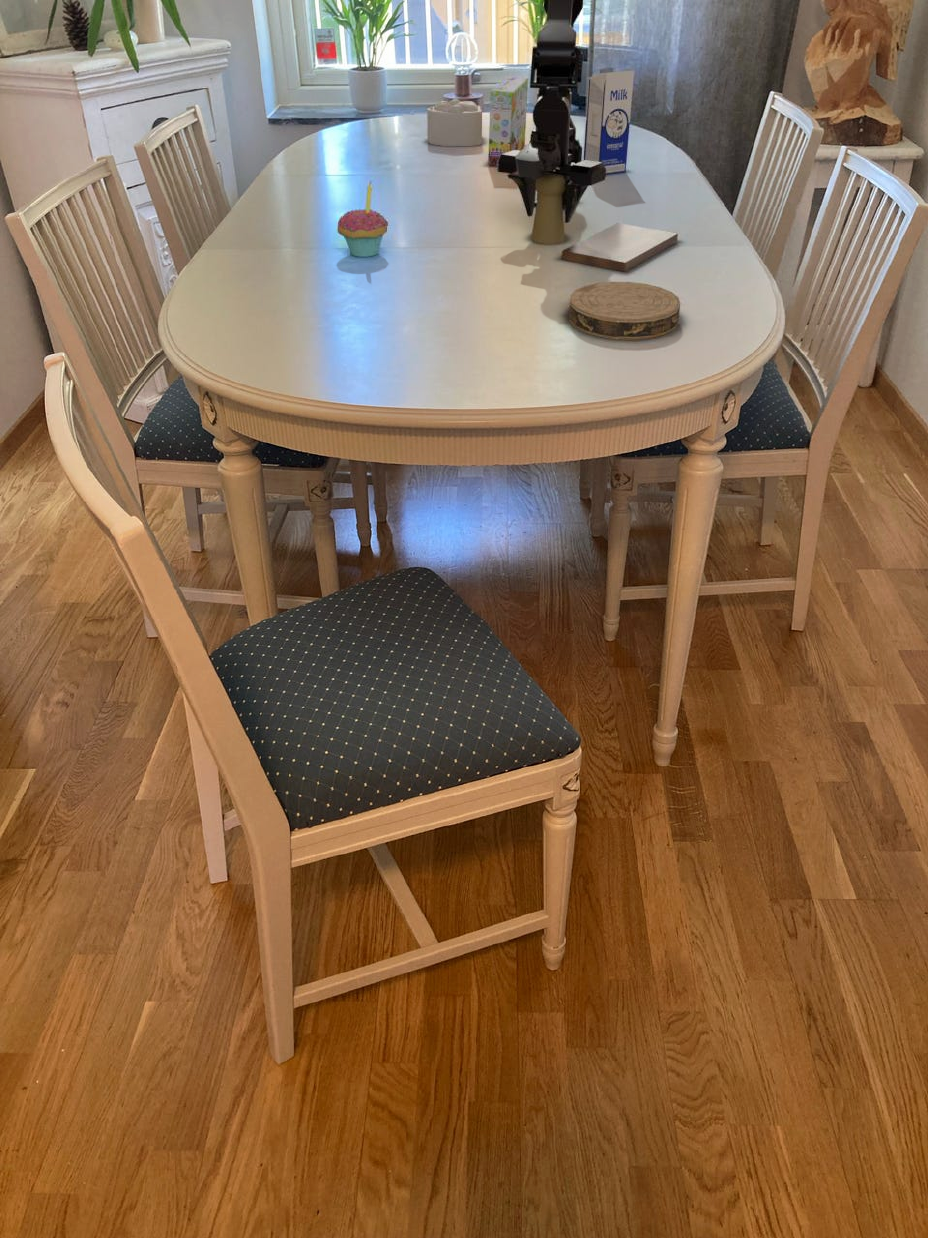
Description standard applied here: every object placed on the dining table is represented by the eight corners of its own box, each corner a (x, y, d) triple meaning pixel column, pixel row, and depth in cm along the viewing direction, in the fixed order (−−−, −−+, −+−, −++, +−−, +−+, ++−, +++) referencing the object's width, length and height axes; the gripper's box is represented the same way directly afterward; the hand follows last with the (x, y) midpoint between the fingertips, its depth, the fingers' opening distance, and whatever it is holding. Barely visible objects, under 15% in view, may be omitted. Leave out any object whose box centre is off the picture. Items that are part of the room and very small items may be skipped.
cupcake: (396, 248, 181) (393, 175, 174) (377, 262, 174) (373, 187, 167) (351, 243, 183) (346, 171, 176) (330, 257, 177) (324, 183, 170)
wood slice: (602, 346, 144) (604, 325, 142) (549, 310, 156) (550, 290, 154) (699, 329, 149) (702, 308, 147) (641, 295, 161) (643, 276, 159)
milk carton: (599, 175, 223) (606, 71, 211) (582, 168, 228) (588, 66, 216) (626, 171, 225) (635, 68, 214) (609, 165, 230) (616, 64, 219)
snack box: (512, 167, 229) (513, 91, 220) (487, 166, 230) (488, 90, 221) (526, 146, 246) (529, 75, 237) (503, 145, 247) (504, 74, 238)
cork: (528, 234, 187) (531, 169, 181) (562, 233, 188) (565, 168, 181) (533, 244, 183) (535, 178, 176) (567, 243, 183) (571, 177, 177)
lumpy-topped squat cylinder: (482, 145, 247) (482, 105, 242) (427, 146, 246) (427, 106, 241) (480, 136, 255) (480, 97, 250) (427, 137, 255) (426, 98, 250)
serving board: (561, 259, 176) (561, 250, 175) (616, 231, 189) (617, 222, 188) (624, 271, 170) (625, 262, 169) (677, 242, 183) (678, 233, 183)
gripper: (480, 124, 173) (479, 221, 182) (577, 137, 164) (571, 238, 173) (515, 114, 180) (513, 207, 190) (610, 126, 172) (603, 223, 181)
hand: (548, 219), depth 183 cm, fingers closed on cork, 7 cm apart
